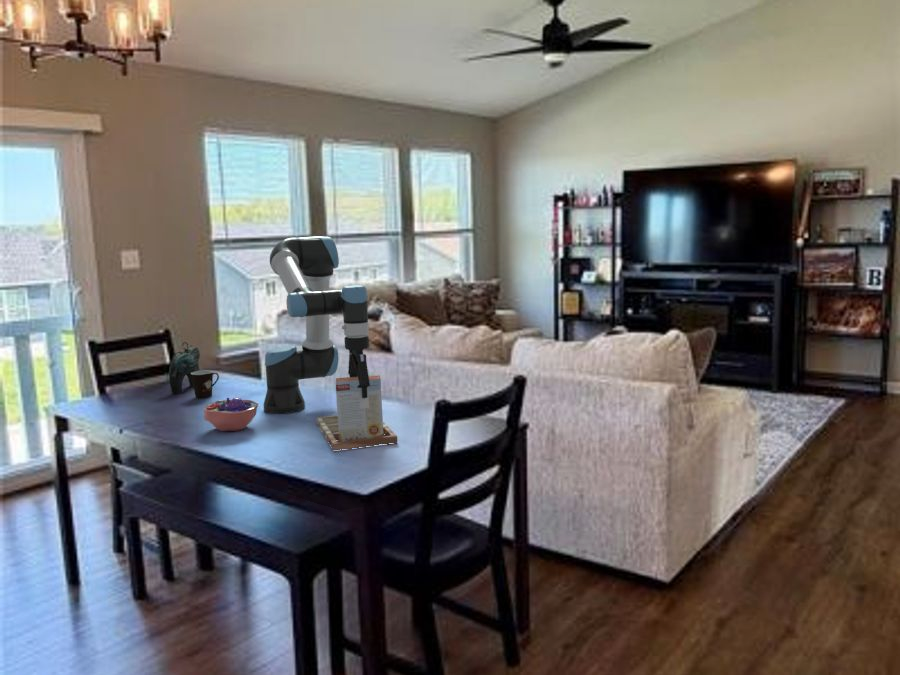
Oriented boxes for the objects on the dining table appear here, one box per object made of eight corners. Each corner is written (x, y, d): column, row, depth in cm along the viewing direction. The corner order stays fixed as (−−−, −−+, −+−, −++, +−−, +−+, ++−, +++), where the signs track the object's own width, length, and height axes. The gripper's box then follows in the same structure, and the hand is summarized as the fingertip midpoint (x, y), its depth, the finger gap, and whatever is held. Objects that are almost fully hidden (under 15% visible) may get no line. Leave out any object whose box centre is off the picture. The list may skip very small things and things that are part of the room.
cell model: (236, 418, 266) (234, 388, 264) (269, 428, 253) (267, 396, 251) (193, 430, 253) (191, 397, 251) (226, 440, 240) (223, 406, 238)
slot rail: (316, 424, 255) (316, 417, 255) (373, 417, 261) (373, 410, 261) (333, 452, 224) (333, 444, 224) (397, 443, 231) (397, 436, 230)
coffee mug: (195, 400, 295) (193, 375, 294) (190, 396, 303) (188, 372, 301) (224, 395, 301) (222, 372, 300) (219, 391, 309) (217, 368, 307)
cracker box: (383, 438, 237) (380, 374, 234) (384, 443, 231) (381, 378, 228) (339, 441, 235) (335, 376, 232) (338, 446, 229) (335, 381, 226)
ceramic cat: (192, 383, 327) (188, 338, 323) (206, 383, 325) (202, 339, 322) (167, 394, 307) (162, 347, 304) (181, 394, 306) (177, 347, 303)
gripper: (337, 330, 238) (340, 394, 241) (352, 343, 215) (356, 413, 218) (360, 329, 240) (363, 392, 244) (377, 341, 217) (380, 411, 221)
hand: (359, 402), depth 231 cm, fingers open, 13 cm apart
